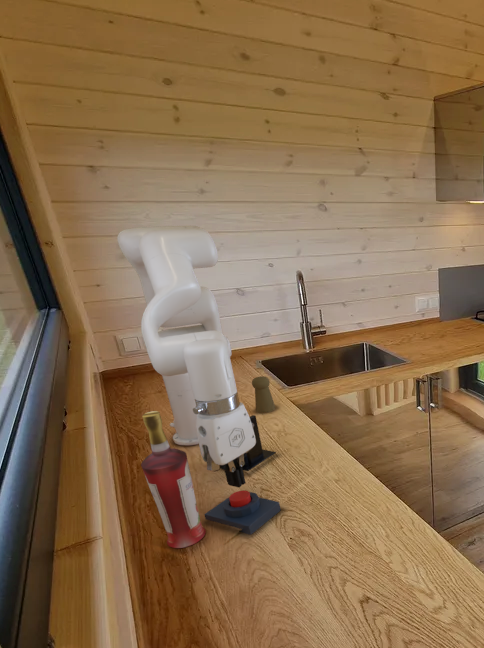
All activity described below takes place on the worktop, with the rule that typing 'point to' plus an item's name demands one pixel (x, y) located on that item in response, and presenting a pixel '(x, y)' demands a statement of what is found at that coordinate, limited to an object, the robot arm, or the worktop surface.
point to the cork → (263, 395)
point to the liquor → (171, 486)
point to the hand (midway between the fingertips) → (237, 484)
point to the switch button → (240, 498)
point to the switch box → (244, 513)
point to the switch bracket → (255, 450)
